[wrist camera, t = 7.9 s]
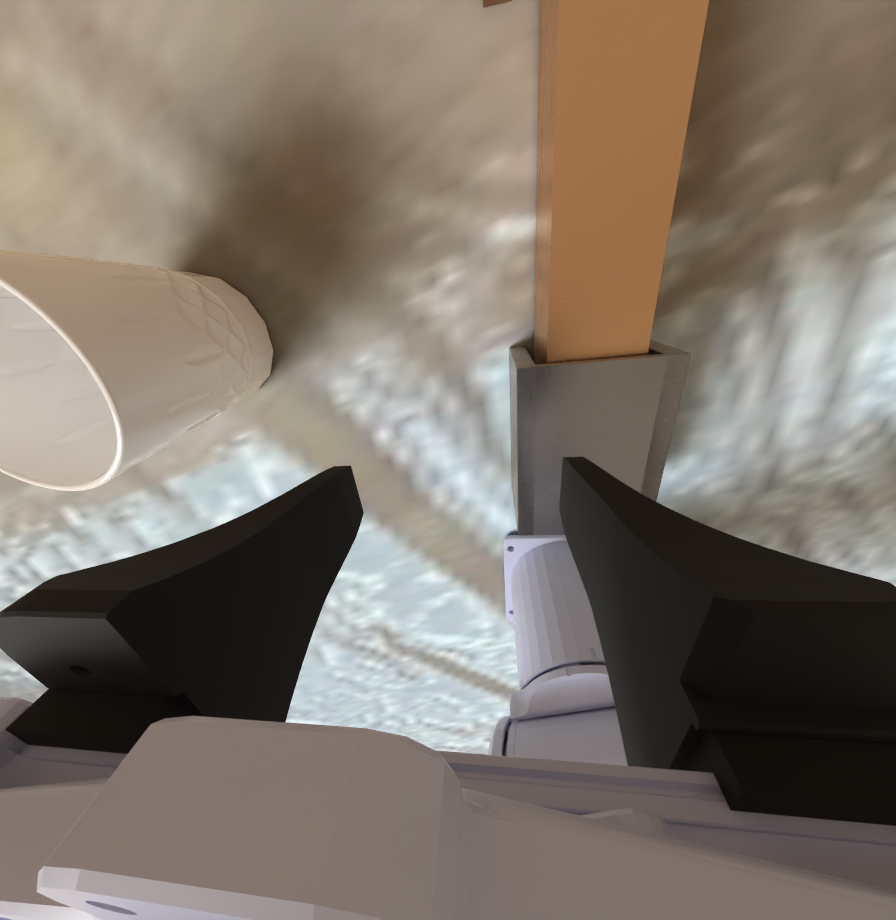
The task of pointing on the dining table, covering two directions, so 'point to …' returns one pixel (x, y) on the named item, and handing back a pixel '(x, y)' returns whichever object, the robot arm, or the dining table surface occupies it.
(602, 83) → the tan wooden bar
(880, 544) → the dining table surface
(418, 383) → the dining table surface
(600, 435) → the sleeve
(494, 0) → the socket
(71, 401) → the white cup
